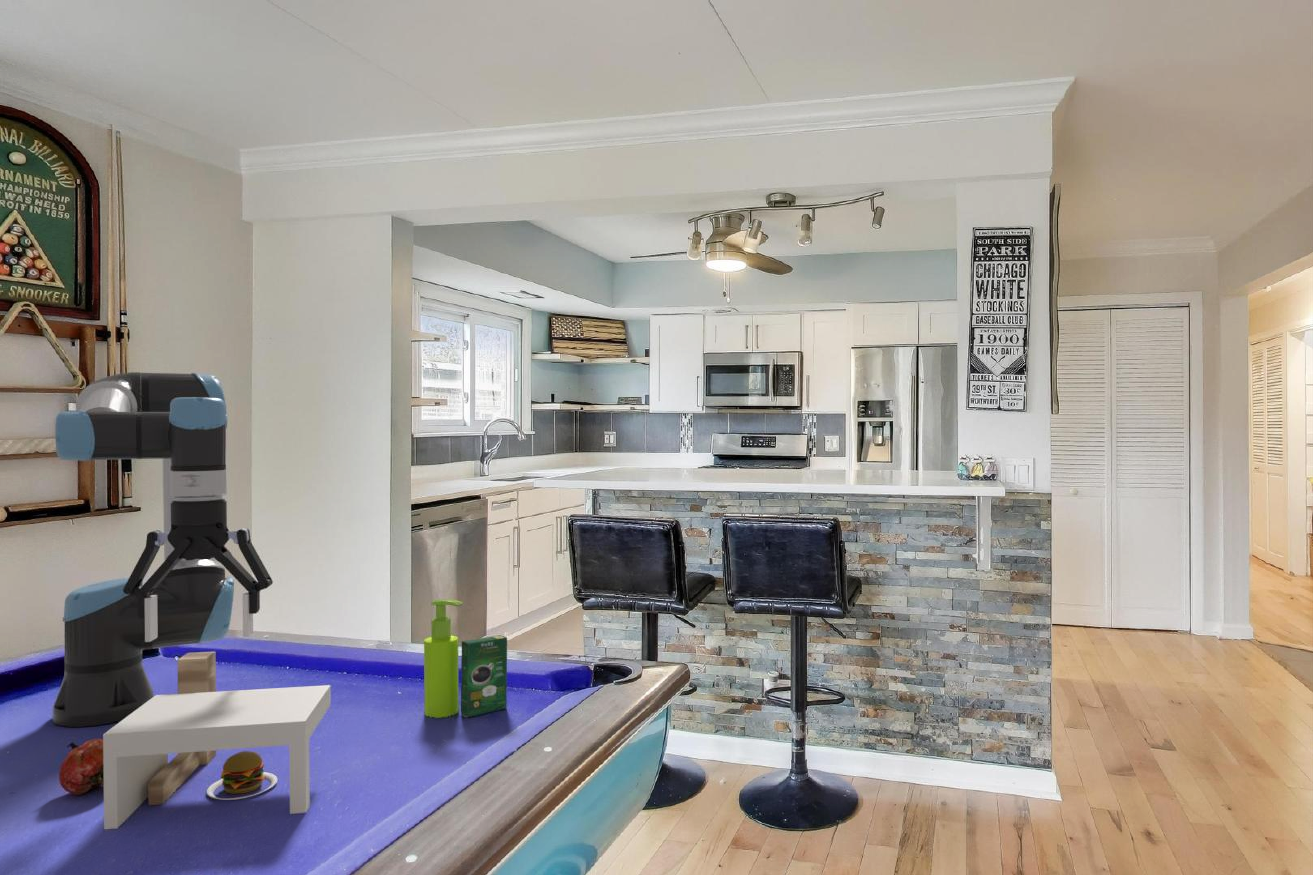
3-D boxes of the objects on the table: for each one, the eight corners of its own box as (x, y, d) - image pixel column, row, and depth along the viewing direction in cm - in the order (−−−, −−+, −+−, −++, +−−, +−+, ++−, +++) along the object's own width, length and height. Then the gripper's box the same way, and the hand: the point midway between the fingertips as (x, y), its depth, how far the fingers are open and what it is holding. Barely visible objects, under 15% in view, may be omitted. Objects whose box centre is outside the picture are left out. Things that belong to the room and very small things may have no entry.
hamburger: (194, 819, 109) (194, 778, 109) (192, 786, 119) (192, 748, 119) (294, 798, 115) (293, 759, 115) (284, 768, 125) (283, 732, 125)
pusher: (188, 756, 129) (187, 652, 129) (216, 754, 129) (215, 651, 129) (139, 805, 111) (138, 686, 111) (172, 803, 112) (170, 684, 112)
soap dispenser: (455, 719, 145) (454, 604, 144) (418, 716, 146) (417, 602, 146) (469, 708, 150) (468, 597, 150) (434, 705, 152) (433, 596, 152)
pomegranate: (132, 797, 119) (99, 746, 123) (144, 765, 116) (109, 714, 120) (75, 824, 113) (41, 769, 116) (86, 790, 110) (51, 735, 113)
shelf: (156, 777, 120) (155, 695, 120) (331, 764, 125) (330, 684, 125) (104, 829, 105) (103, 734, 105) (306, 812, 109) (305, 721, 109)
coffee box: (500, 704, 152) (500, 633, 152) (508, 708, 150) (508, 636, 150) (460, 714, 147) (459, 640, 147) (467, 718, 145) (466, 643, 145)
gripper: (96, 502, 121) (98, 647, 121) (280, 498, 126) (281, 638, 126) (119, 498, 128) (120, 635, 129) (291, 494, 133) (292, 627, 133)
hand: (200, 637), depth 127 cm, fingers open, 13 cm apart
